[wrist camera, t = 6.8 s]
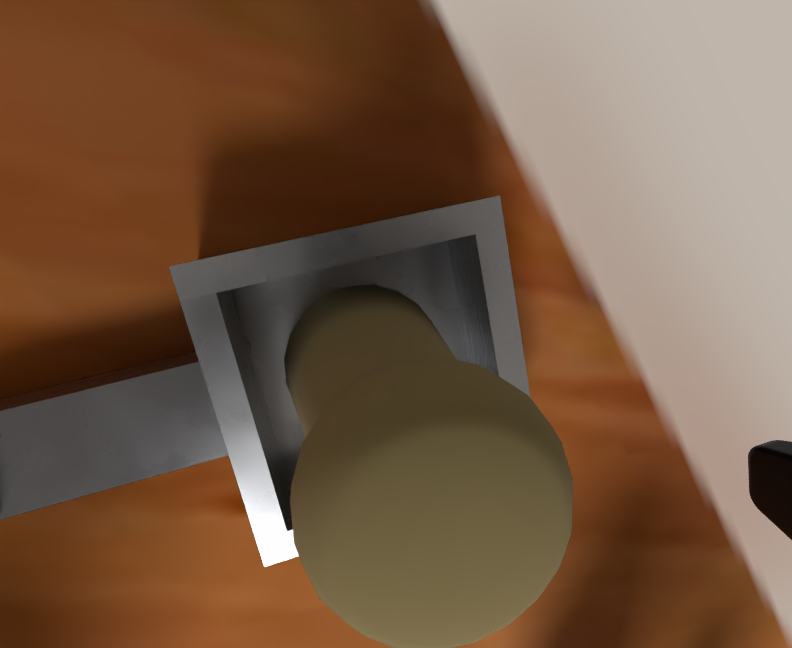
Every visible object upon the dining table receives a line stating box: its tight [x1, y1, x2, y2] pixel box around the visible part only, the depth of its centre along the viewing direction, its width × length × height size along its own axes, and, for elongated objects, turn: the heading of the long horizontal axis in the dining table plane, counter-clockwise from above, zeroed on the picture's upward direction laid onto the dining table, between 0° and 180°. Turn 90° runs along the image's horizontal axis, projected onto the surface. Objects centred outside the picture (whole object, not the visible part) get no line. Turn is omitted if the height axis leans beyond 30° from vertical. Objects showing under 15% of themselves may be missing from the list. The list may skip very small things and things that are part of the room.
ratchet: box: [0, 196, 530, 567], centre depth 17 cm, size 10×19×5 cm, turn 102°
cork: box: [284, 285, 573, 648], centre depth 12 cm, size 6×6×11 cm
